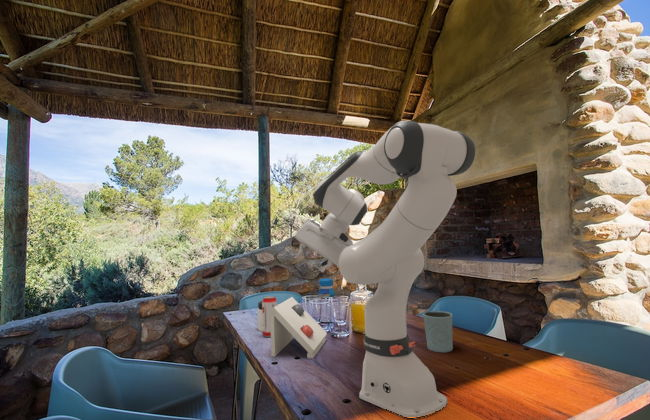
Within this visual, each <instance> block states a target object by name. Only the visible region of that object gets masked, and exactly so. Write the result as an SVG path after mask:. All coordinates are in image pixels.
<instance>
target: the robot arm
mask: <svg viewBox="0 0 650 420" xmlns="http://www.w3.org/2000/svg"><path fill="white" fill-rule="evenodd" d="M475 157H476V146H475V143H474V141H473V139H471V137H469V136H468V135H466V134H465V133H463V132H461V131H457V130H455V131H454V130H452V129H449V128H445V127H443V126H440V125H437V124H432V123H426V122H425V123H422V122H416V121H415V120H400V121H398V122H396V123H394V124H393V125H392V126H391V127H390V128H389V129H387V131H386V132H384V134H383V135H382V136H381V137H380V139H378V140H377V141H376V143H375V145H374V146H373V147H372V148H370V149H369V150H365V151H362V150H357V151H355V152H354V153H352V154H351V155H350V156H349V157H348V158H346V160H344V161H343V162H342V163H341V164H340V165H339V166H337V168H336V169H334V170H333V171H332V172H331V174H329V175H328V176H327V177H325V178H324V179H322V180H321V181H320V182H319V183H318V184H317V185H316V187H315V188H314V190H313V193H312V197H313V201H314V204H315V205H317V206H319V207H320V208H322V209H324V210H325V211H327V212H328V214H327V215H326V216H325V218H324V219H323V221H322V222H321V223H320V222H318V221H316V220H315V219H314V218H307V219H306V220H304V222H303V224H302V226H301V227H299V229H298V230H297V231H296V232H295V235H294V238H295V240H297V241H298V242H300V244H299V251H298V252H297V254H296V256H297V257H298V258H299V259H302V258H303V256H304V255H305V253H304V252H303V249H305V248H306V247H307V248H309V249H310V250H312V251H314V252H315V253H317V254H318V255H319V256H321V257H323V258H324V259H326V260H327V262H326V265H324V266H323V265H320V267H319V268H318V271H320V272H321V273H324V272H325V271H326V269H328V268H330V267H333V265H335V266H337V267H338V270H339V272H340V275H341V276H342V277H343V280H345V281H346V282H347V283H349V284H354V285H364V286H365V285H367V286H368V285H376V284H377V289H376V290H375V292H374V294H373V295H372V296H371V297H369V298H368V300H367V301H366V302H365V305H364V308H363V311H364V333H363V348H364V350H365V355H364V359H363V361H362V372H361V373H362V375H361V376H362V378H361V379H362V380H361V387H360V388H361V389H360V391H359V395H358V397H359V399H360V400H363V401H365V402H368V403H371V404H372V405H374V406H377V407H380V408H381V409H384V410H386V409H387V411H388V410H389V411H388V412H390V411H392V412H391V413H393V412H395V413H397V414H399V415H398V416H400V415H402V416H405V417H408V418H409V417H418V416H419V417H420V416H425V415H427V414H430V413H433V412H435V411H438V410H440V409H441V410H443V409H444V408H445V407H446V406H447V405H446V404H448V397H447V396H446V395H444V394H442V393H440V392H439V391H438V390H437V385H436V379H435V377H434V375H433V373H432V372H431V371H430V370H429V368H428V367H427V366H426V365H425V364H424V363H423V362H422V360H421V359H420V358H419V357H418V356H417V355H416V353H414V348H413V347H416V344H415V343H416V341H411V339H410V336H409V334H408V333H407V332H408V331H407V329H408V328H407V305H408V304H407V303H408V299H409V294H410V291H411V289H412V287H413V286H412V285H413V284H414V282H415V281H416V279H417V277H418V276H419V275H421V273H422V272H423V270H424V267H425V256H424V253H423V251H422V250H421V248H422V247H423V246H424V244H425V243H427V241H428V240H429V239H430V237H431V236H432V235H433V234H434V233H435V231H436V230H437V229H438V228H439V226H440V225H441V224H442V222H443V221H444V219H445V218H446V216H447V215H448V213H449V212H450V209H451V208H452V206H453V204H454V202H455V200H456V198H457V195H458V194H457V193H458V192H457V185H456V183H455V182H454V180H452V178H451V177H454V176H458V175H462V174H464V173H465V172H467V171H468V170H469V169H470V168H471V166H472V165H473V163H474V161H475V159H476V158H475ZM350 177H355V178H357V179H358V178H359V179H362V180H365V181H367V182H370V183H373V184H376V185H383V186H384V185H390V184H393V183H394V182H396V181H397V180H399V179H400V178H402V179H407V178H408V179H407V180H408V183H407V187H406V189H405V190H404V192H402V194H401V195H400V197H399V199H398V200H397V202H396V203H395V205H394V206H393V208H392V209H391V210H390V212H389V214H387V216H386V218H385V219H383V221H382V223H381V224H379V225H378V226H377V227H376V228H374V229H373V230H372V231H371V232H370V233H369V234H368V235H366V236H364V237H363V238H362V239H360V240H359V241H357V242H355V243H353V240H352V239H351V238H350V237H349V235H348V234H347V231H348V230H349V227H350V226H358V225H360V223H361V221H362V220H363V218H364V217H365V215H366V214H367V213H368V205H367V203H366V201H365V196H364V195H363V194H362V193H361V192H359V191H358V190H356V189H353V188H346V187H345V186H343V185H342V183H343V182H344V181H345V180H346V179H348V178H350ZM443 407H444V408H443ZM442 408H443V409H442ZM441 410H440V411H441ZM438 412H439V411H438ZM395 413H394V414H395ZM397 414H396V415H397ZM402 416H401V417H402ZM425 417H426V416H425Z"/></svg>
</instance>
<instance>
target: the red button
mask: <svg viewBox="0 0 650 420" xmlns="http://www.w3.org/2000/svg"><path fill="white" fill-rule="evenodd" d="M300 330H301V331H302V332H303V333H304V334H305V335H306V336H307V337H308V338H310V336H311V335H312V334H313V333H314V332H313V330H312V328H311V327H310V326H308V325H305V326H304V327H303V328H302V329H300Z"/></svg>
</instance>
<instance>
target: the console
mask: <svg viewBox="0 0 650 420" xmlns="http://www.w3.org/2000/svg"><path fill="white" fill-rule="evenodd" d="M297 304H299V305H300V306H302V305H301V304H300V303H299V301H297V300H295V298H294V297H293V296H291V297H289V298H288V299H286V300H284V301H282V302H281V303H279V304H277V306H275V307H274V308H273V309H272V310H271V311H270V323H271V337H270V353H271V355H270V357H274V358H275V357H276V356H277V355H278V354H279V353H280V352H281V351H282V350H284V348H285V347H286V346H287V345H289V343H291V342H292V341H293V340H294V339H295V340H296V341H297V342H298V344H300V345H301V346H302V347H303V349H305V350H306V352H307V354H306V357H307V358H306V359H314V358H315V356H316V355H317V354H318V352H319V351H320V350H321V348H322V347H323V345H324V344H325V343H326V341H327V334H328V333H327V331H326V330H325V329H324V328H323V327H321V325H320V324H319V322H317V321H316V320H315V318H313V317H312V316H311V315H310V314H309V312H307V311H306V310H305V309H304V313H303V314H302V315H301V316H299V315H298V314H297V313H296V312H295V311H294V310H293V308H294V307H295V306H296V305H297ZM305 325H308V326H310V327H311V328H312V330H313V332H314V333H313V334H312V335H311V336H310V338H308V337H307V336H306V335H305V334H304V333H303V332H302V331H301V329H302V328H303V327H304V326H305Z"/></svg>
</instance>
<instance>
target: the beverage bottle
mask: <svg viewBox="0 0 650 420" xmlns="http://www.w3.org/2000/svg"><path fill="white" fill-rule="evenodd" d="M318 285H319V290H318V291H317V295H318V297H320V298H321V297H322V298H325V299H327V298H329V297H335V298H336V296H335V295H336V293H335V292H336V291H335V289H334V288H333V286H334V281H333V278H319V279H318Z"/></svg>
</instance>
